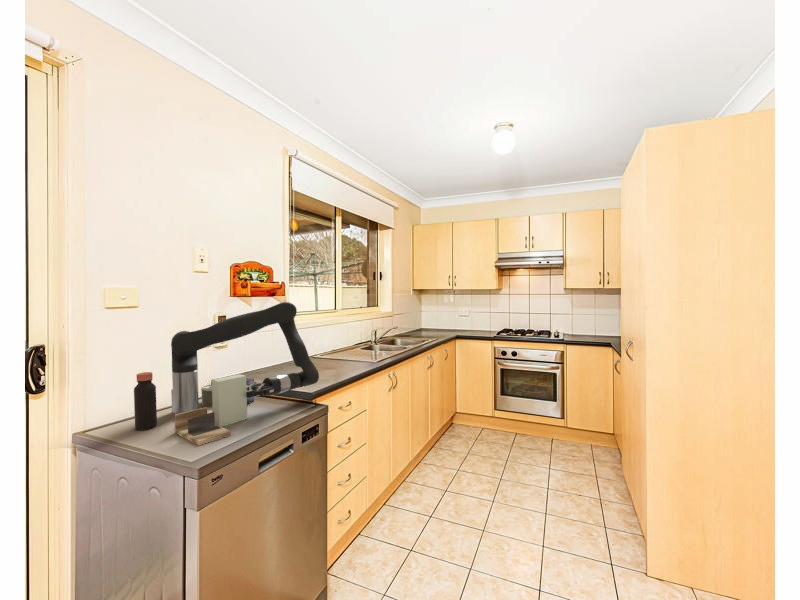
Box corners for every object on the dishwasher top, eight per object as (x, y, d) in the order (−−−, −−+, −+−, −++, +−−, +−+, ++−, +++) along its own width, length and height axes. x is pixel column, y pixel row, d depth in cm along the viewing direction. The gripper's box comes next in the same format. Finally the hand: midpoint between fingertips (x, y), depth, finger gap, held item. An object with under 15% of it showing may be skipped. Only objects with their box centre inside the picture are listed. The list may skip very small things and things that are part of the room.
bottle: (161, 425, 148) (159, 372, 147) (144, 431, 141) (142, 376, 141) (147, 423, 150) (145, 371, 149) (130, 429, 143) (128, 375, 143)
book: (212, 424, 149) (211, 379, 148) (240, 416, 157) (239, 374, 156) (219, 427, 145) (218, 381, 145) (247, 419, 154) (246, 375, 153)
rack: (175, 432, 140) (174, 414, 140) (206, 424, 149) (206, 407, 148) (198, 445, 129) (198, 426, 129) (230, 435, 137) (230, 417, 137)
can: (226, 405, 172) (226, 389, 171) (197, 406, 170) (197, 391, 169) (234, 397, 183) (233, 382, 183) (206, 398, 182) (206, 384, 181)
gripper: (267, 373, 171) (231, 380, 159) (286, 378, 163) (250, 386, 150) (267, 390, 172) (231, 399, 159) (287, 396, 163) (250, 406, 150)
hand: (240, 393), depth 155 cm, fingers open, 8 cm apart
